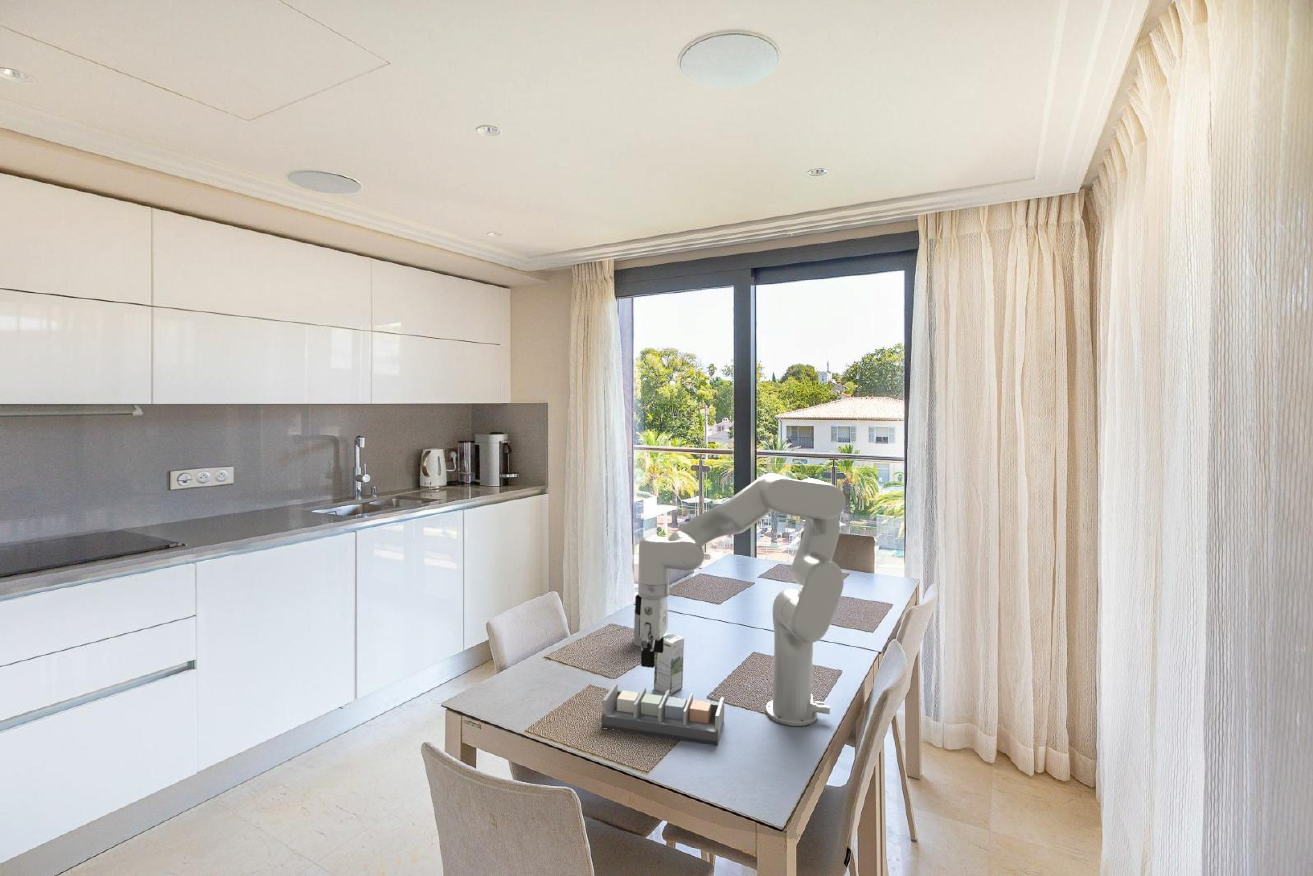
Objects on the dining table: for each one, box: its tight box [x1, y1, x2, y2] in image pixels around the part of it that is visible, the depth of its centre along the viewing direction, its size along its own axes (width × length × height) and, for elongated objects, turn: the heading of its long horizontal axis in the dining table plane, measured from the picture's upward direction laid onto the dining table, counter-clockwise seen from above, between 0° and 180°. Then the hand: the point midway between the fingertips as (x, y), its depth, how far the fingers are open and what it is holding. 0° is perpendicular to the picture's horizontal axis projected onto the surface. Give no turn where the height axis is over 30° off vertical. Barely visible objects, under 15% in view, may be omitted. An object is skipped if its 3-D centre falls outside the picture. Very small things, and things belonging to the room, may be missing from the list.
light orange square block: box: [690, 699, 712, 723], centre depth 149 cm, size 4×4×3 cm
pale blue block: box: [665, 696, 688, 720], centre depth 150 cm, size 4×4×3 cm
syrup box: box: [653, 632, 685, 696], centre depth 170 cm, size 6×6×14 cm
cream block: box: [617, 690, 640, 713], centre depth 153 cm, size 4×4×3 cm
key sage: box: [641, 693, 664, 716], centre depth 151 cm, size 4×4×3 cm
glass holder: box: [632, 594, 651, 648], centre depth 200 cm, size 9×14×15 cm, turn 174°
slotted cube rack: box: [600, 682, 725, 747], centre depth 151 cm, size 28×11×7 cm, turn 76°
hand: (652, 658), depth 151 cm, fingers open, 8 cm apart
